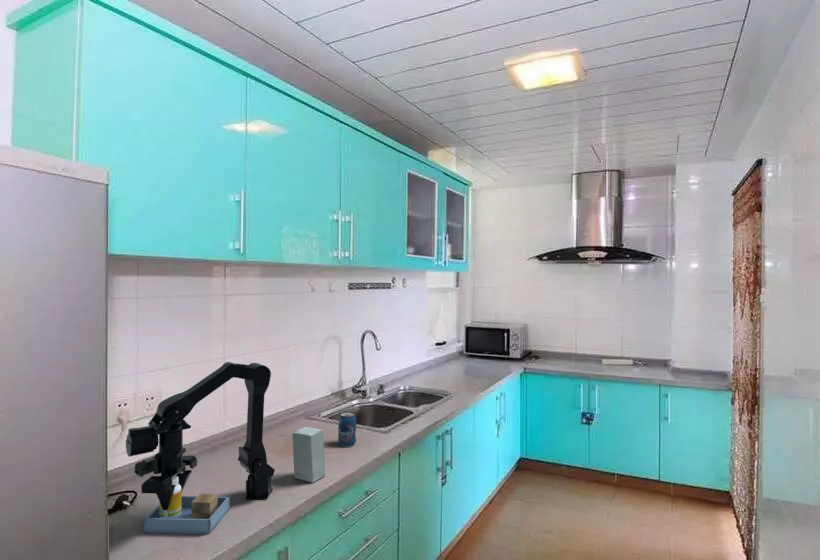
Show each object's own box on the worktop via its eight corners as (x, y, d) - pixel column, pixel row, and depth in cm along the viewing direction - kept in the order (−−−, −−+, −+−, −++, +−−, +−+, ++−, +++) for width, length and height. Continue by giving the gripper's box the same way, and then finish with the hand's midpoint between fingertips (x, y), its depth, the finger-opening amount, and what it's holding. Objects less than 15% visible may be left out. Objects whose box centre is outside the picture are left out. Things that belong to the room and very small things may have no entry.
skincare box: (325, 476, 162) (326, 429, 162) (310, 484, 156) (311, 435, 156) (306, 471, 167) (306, 424, 166) (291, 478, 160) (291, 430, 160)
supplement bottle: (184, 509, 135) (184, 474, 135) (176, 519, 129) (176, 482, 129) (164, 509, 135) (164, 474, 134) (155, 519, 129) (155, 483, 129)
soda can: (337, 447, 190) (337, 416, 189) (339, 441, 196) (339, 411, 196) (355, 447, 190) (355, 416, 190) (356, 441, 197) (356, 411, 197)
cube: (217, 512, 136) (217, 494, 136) (210, 521, 131) (210, 502, 131) (199, 511, 136) (199, 493, 136) (191, 520, 131) (191, 502, 131)
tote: (229, 509, 139) (229, 497, 139) (209, 533, 126) (209, 520, 126) (169, 508, 140) (169, 495, 140) (143, 532, 126) (143, 518, 126)
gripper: (159, 435, 141) (159, 489, 141) (120, 460, 123) (120, 522, 123) (198, 435, 141) (197, 489, 141) (164, 460, 122) (164, 522, 123)
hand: (170, 505), depth 132 cm, fingers closed on supplement bottle, 5 cm apart
